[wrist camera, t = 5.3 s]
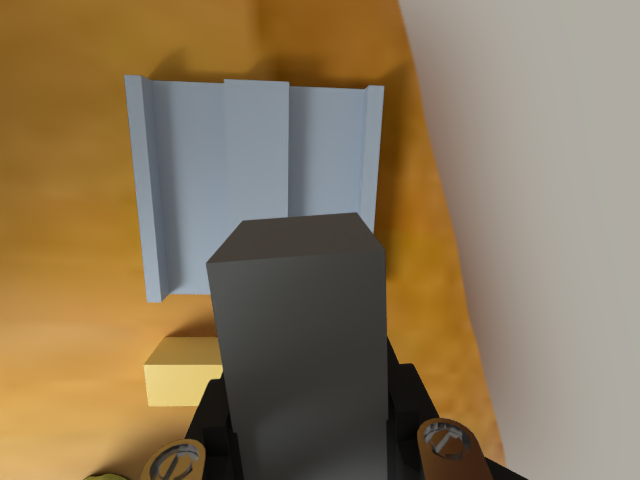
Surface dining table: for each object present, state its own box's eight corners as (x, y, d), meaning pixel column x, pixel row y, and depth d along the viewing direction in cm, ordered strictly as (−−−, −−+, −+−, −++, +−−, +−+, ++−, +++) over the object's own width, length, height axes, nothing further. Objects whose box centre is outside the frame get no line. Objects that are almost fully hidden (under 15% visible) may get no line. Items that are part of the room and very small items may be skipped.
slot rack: (161, 288, 27) (147, 302, 25) (142, 82, 23) (123, 74, 21) (362, 291, 28) (368, 304, 26) (376, 92, 24) (384, 85, 22)
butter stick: (169, 372, 29) (148, 406, 26) (165, 335, 28) (143, 364, 25) (298, 372, 30) (297, 405, 26) (298, 336, 29) (297, 364, 25)
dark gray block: (242, 220, 11) (205, 263, 7) (356, 212, 11) (384, 249, 7) (277, 496, 13) (266, 637, 10) (367, 488, 13) (391, 625, 10)
